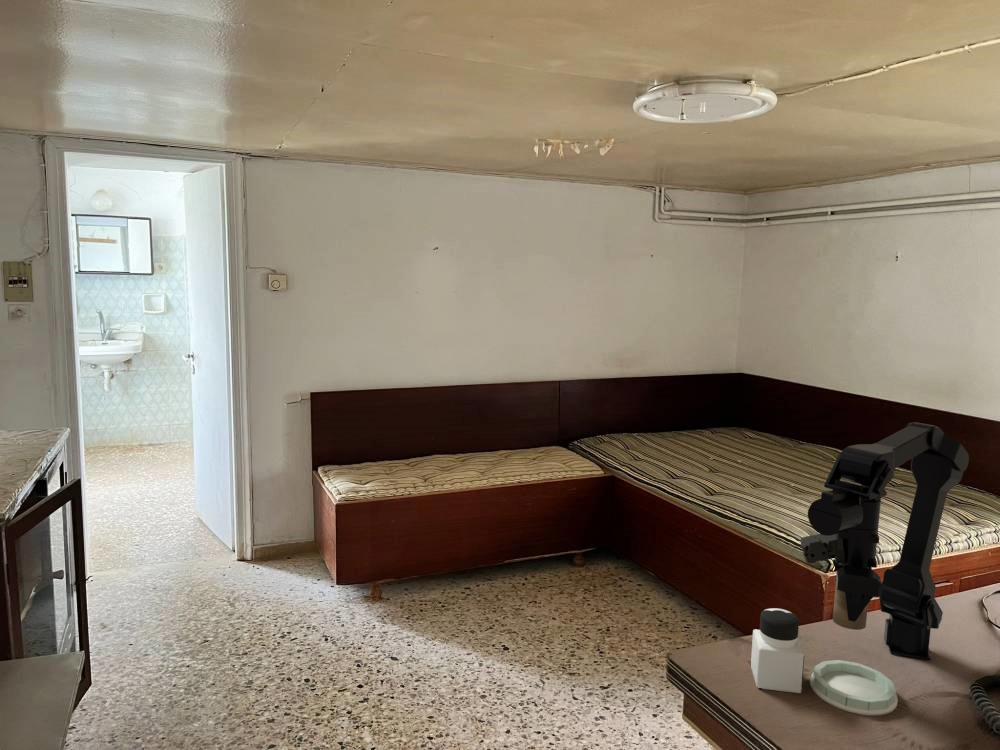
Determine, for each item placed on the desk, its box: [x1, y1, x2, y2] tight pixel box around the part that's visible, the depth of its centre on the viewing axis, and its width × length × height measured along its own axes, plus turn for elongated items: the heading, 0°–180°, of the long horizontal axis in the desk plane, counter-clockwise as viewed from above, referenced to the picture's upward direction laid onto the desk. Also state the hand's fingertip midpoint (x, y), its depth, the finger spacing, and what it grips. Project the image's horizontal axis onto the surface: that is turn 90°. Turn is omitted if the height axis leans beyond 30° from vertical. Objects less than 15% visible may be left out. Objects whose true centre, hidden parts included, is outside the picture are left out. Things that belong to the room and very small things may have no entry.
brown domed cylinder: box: [832, 584, 869, 631], centre depth 118 cm, size 5×5×7 cm
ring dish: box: [809, 659, 899, 716], centre depth 117 cm, size 13×13×2 cm
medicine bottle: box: [750, 607, 805, 694], centre depth 120 cm, size 7×7×12 cm
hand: (850, 613), depth 119 cm, fingers closed on brown domed cylinder, 5 cm apart
